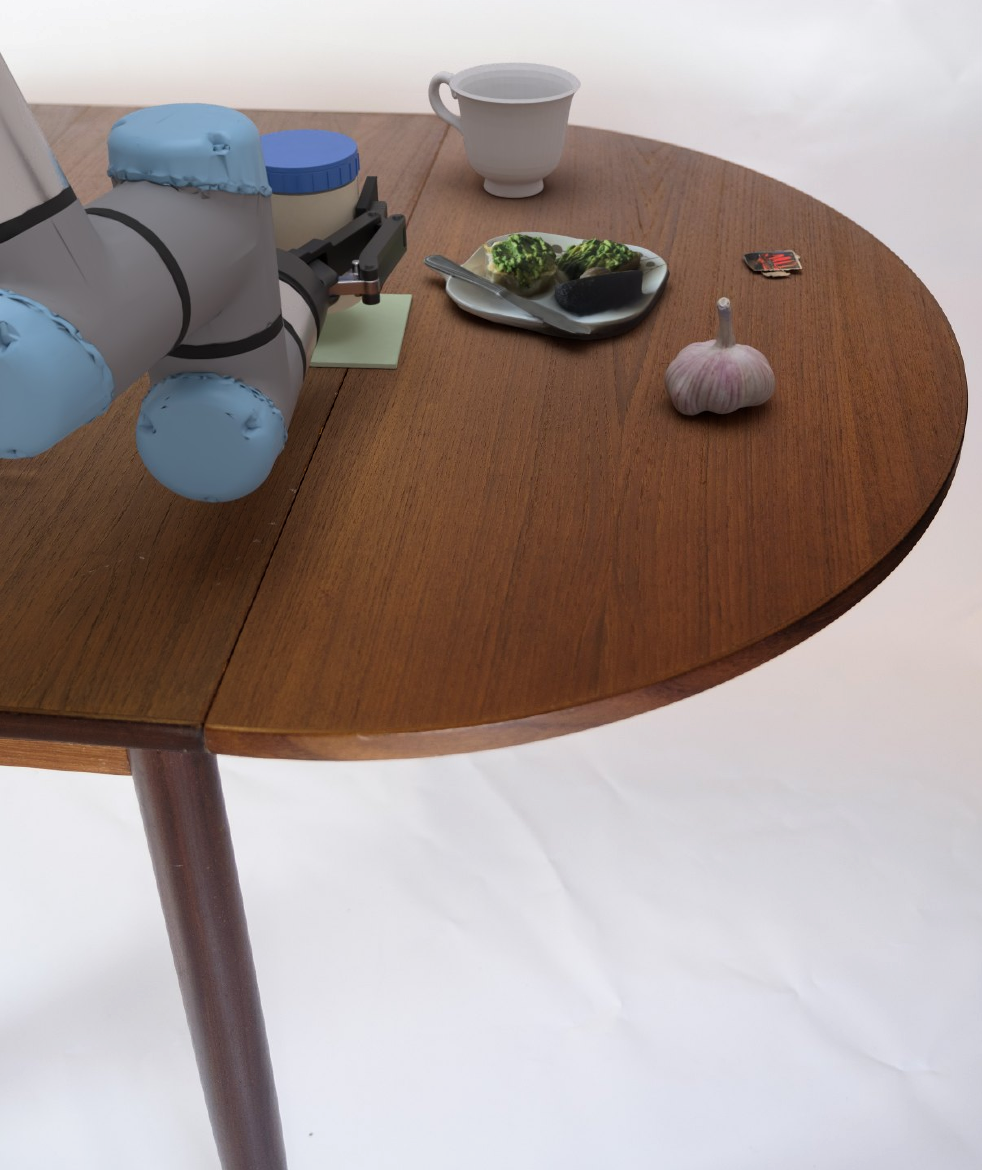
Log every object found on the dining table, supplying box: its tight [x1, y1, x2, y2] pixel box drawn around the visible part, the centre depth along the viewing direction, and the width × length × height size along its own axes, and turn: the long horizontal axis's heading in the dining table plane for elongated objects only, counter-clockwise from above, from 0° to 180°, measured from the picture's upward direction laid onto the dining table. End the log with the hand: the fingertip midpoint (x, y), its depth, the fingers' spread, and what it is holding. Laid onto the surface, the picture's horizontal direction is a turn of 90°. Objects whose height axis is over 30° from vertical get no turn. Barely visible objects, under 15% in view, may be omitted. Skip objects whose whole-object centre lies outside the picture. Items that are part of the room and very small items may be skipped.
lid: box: [260, 128, 361, 193], centre depth 91 cm, size 8×8×2 cm
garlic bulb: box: [664, 296, 776, 416], centre depth 87 cm, size 8×7×8 cm
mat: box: [309, 293, 413, 370], centre depth 99 cm, size 14×12×1 cm
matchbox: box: [742, 249, 803, 278], centre depth 108 cm, size 5×5×1 cm
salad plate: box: [423, 231, 671, 341], centre depth 103 cm, size 19×18×5 cm
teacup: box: [427, 62, 581, 199], centre depth 121 cm, size 12×15×10 cm
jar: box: [271, 174, 362, 314], centre depth 94 cm, size 8×8×10 cm
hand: (315, 193), depth 97 cm, fingers closed on jar, 8 cm apart
